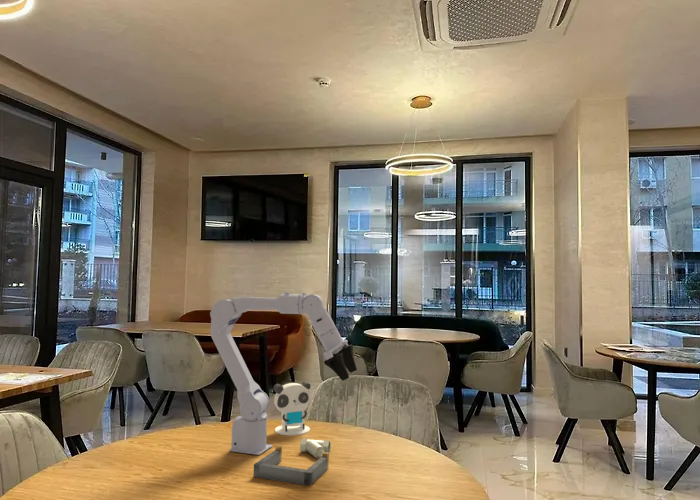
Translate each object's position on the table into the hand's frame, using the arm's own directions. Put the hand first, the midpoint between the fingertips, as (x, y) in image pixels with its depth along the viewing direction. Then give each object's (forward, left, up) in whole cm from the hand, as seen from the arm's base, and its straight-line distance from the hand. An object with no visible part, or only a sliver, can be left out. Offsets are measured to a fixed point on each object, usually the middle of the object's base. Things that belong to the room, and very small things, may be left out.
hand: (349, 375), depth 138 cm
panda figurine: (-25, +15, -22) cm, 36 cm away
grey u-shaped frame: (-9, -17, -22) cm, 29 cm away
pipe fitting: (-9, -4, -22) cm, 24 cm away
